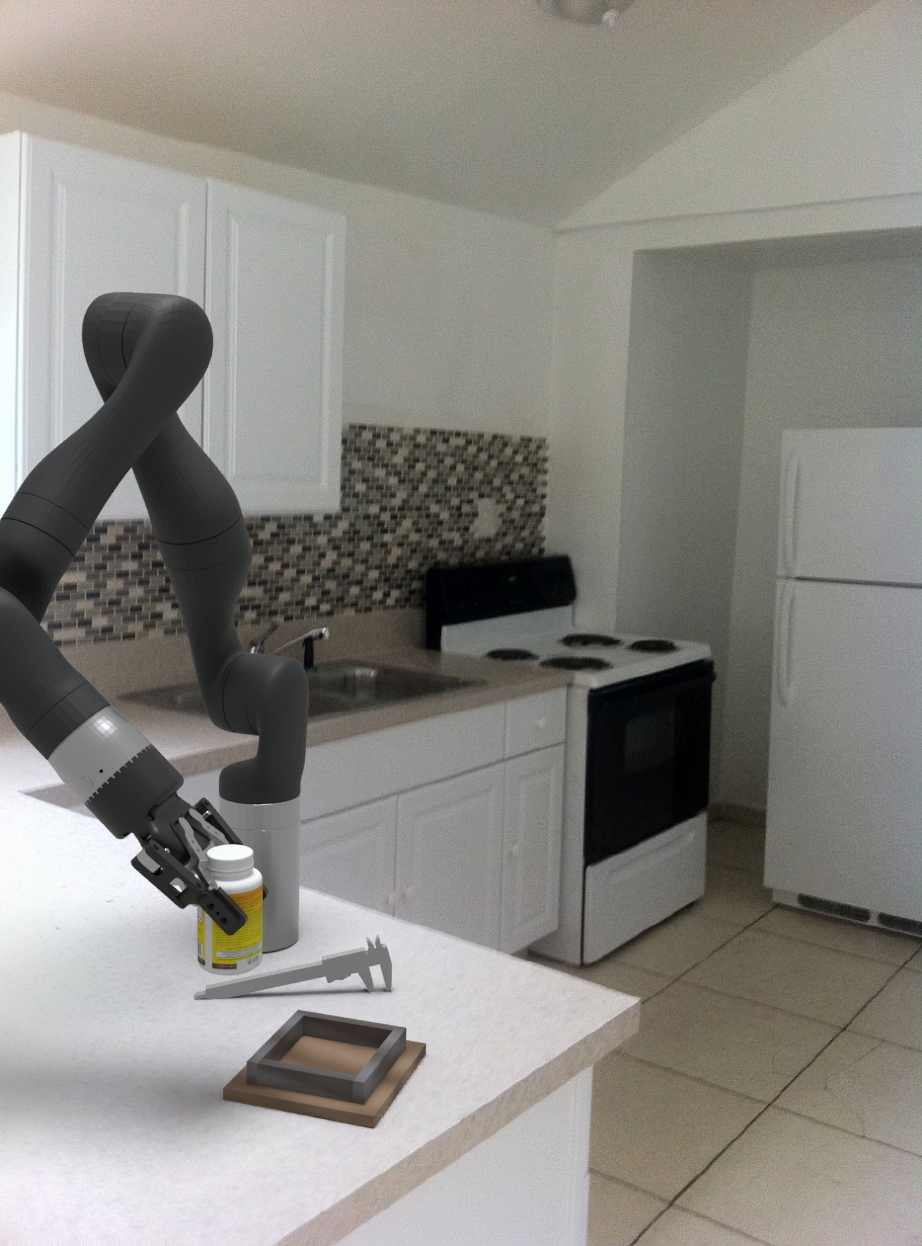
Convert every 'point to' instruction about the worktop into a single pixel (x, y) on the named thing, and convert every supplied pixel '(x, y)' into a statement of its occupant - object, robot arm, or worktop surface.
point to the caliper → (311, 972)
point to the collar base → (329, 1068)
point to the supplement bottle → (246, 891)
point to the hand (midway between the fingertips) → (250, 913)
